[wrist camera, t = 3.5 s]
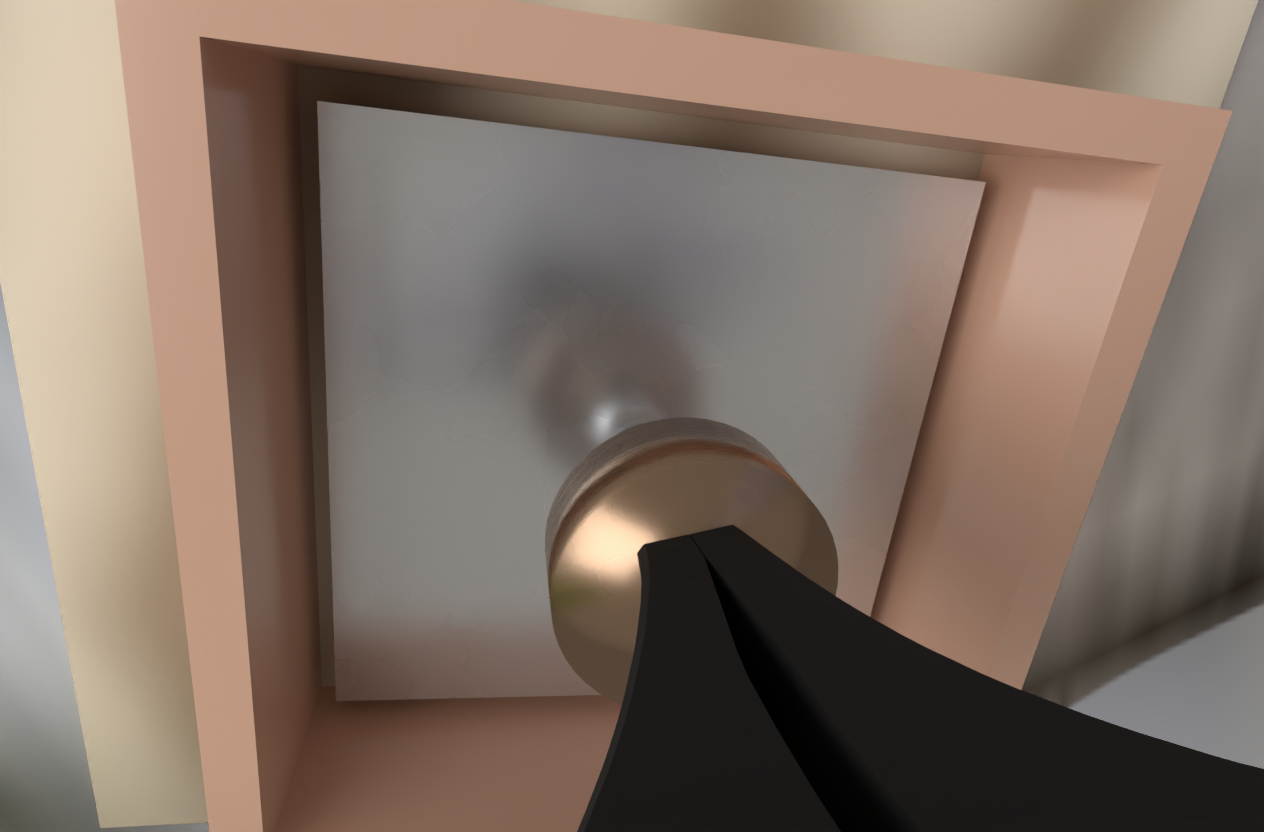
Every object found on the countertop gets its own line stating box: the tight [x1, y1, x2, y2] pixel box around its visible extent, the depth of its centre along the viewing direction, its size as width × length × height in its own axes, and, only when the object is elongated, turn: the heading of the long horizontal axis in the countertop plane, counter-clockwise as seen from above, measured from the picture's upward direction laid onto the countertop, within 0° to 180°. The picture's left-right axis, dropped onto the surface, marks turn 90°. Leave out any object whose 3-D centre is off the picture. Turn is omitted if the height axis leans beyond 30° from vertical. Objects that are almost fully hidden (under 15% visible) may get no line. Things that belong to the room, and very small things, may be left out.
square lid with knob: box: [317, 101, 986, 704], centre depth 13 cm, size 11×11×5 cm
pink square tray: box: [115, 0, 1233, 832], centre depth 13 cm, size 14×14×4 cm
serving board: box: [0, 0, 1259, 828], centre depth 16 cm, size 22×20×1 cm
